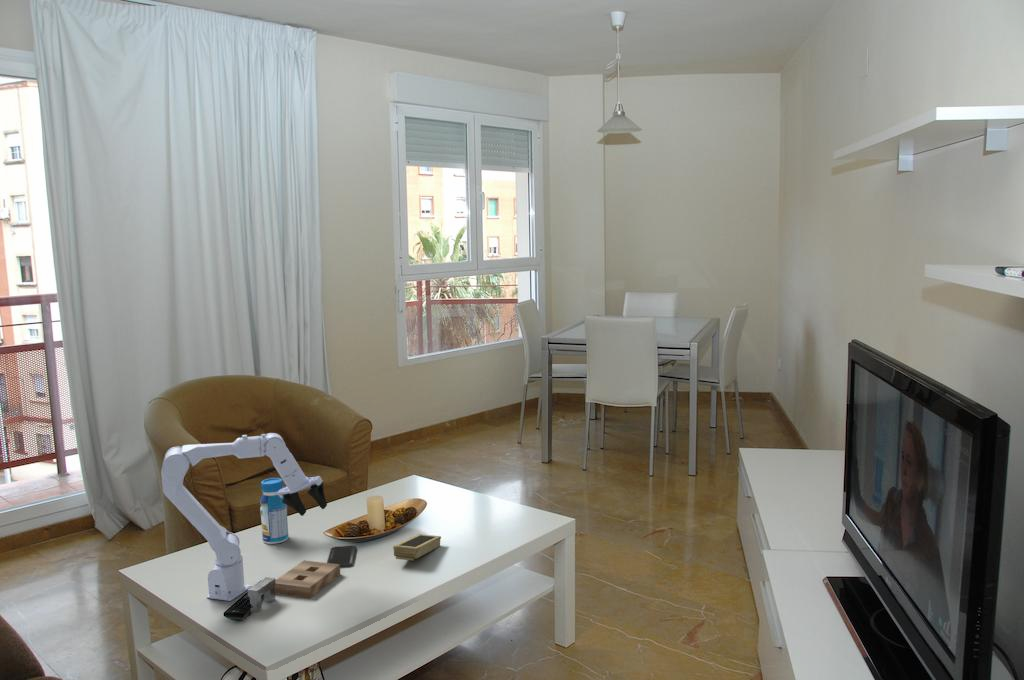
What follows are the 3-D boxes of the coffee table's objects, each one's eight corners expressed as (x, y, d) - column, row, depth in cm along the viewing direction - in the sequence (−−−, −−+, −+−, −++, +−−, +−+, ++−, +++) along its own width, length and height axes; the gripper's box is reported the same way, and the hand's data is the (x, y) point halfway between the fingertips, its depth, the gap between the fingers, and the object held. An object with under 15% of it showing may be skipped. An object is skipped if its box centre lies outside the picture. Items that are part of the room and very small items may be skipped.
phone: (356, 545, 250) (352, 564, 235) (356, 548, 250) (352, 567, 235) (331, 547, 249) (325, 566, 234) (331, 550, 249) (325, 569, 234)
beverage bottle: (282, 545, 254) (278, 484, 251) (257, 544, 255) (253, 484, 253) (293, 535, 262) (289, 477, 260) (269, 534, 263) (265, 476, 261)
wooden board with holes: (310, 598, 215) (309, 587, 214) (272, 593, 218) (271, 582, 218) (340, 574, 230) (339, 564, 229) (304, 570, 233) (303, 560, 233)
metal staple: (258, 612, 207) (257, 590, 206) (249, 611, 208) (247, 589, 207) (276, 599, 214) (275, 578, 214) (267, 598, 215) (265, 577, 215)
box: (391, 562, 234) (392, 545, 234) (420, 547, 255) (421, 531, 255) (417, 565, 231) (418, 548, 232) (444, 549, 253) (445, 533, 253)
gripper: (316, 457, 224) (340, 495, 227) (277, 470, 229) (301, 508, 233) (305, 470, 217) (329, 510, 221) (265, 484, 223) (289, 522, 226)
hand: (314, 510), depth 226 cm, fingers open, 7 cm apart
